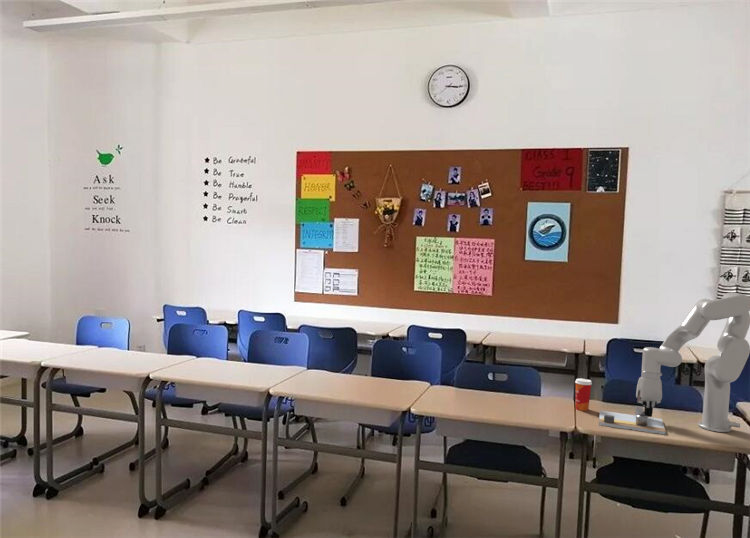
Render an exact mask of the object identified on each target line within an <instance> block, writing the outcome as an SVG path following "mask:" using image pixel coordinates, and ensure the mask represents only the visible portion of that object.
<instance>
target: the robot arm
mask: <svg viewBox="0 0 750 538" xmlns="http://www.w3.org/2000/svg"><path fill="white" fill-rule="evenodd" d="M725 319H726V323H725V325H724V328H723V330H722V331H721V335H720V336H719V338H718V341H717V344H716V345H717V346H716V347H717V350H718V351H719V352H720V353H721V355H714V356H710V357H709V358H707V360H706V361H705V364H704V378H705V379H704V394H703V395H704V396H703V405H702V406H703V410H702V420H700V421H698V422H697V425H698V427H699V428H702V429H704V430H707V431H711V432H718V433H730V432H732V427H734V428H739V429H740V428H741V423H740V422H736V421H730V420H729V409H730V407H729V406H730V395H731V383H733V382H735V381H737V379H738V378H739V377H740V375H741V373H742V371H743V370H744V368H745V365H746V363H747V361H748V359H749V356H750V343H749V341H748V340H746V336H747V334H748V331H749V329H750V297H749V296H748V295H746V294H744V293H743V294H742V293H739V292H732V291H731V292H727V293H725V294H724V295H722V297H721V298H720V299H719V298H718V299H713V300H712V299H710V298H709V299H707V298H702V299H699V300H698V301H697V302H696V303H695V304H694V306H692V308H691V310H690V311H689V312H688V314H687V315H686V316H685V318H684V319H683V321H682V322H681V323H680V325H679V326H677V327H676V328H675V329H674V330H673V331H672V332H671V333H670V334H669V335H668V336H667V337H665V340H664V341H663V343H662V344H661V345H660V347H659V348H658V347H653V346H652V347H651V346H650V347H649V346H648V347H644V348H643V349H642V356H641V358H642V359H641V376H640V377H638V380H637V385H636V391H635V392H636V393H635V398H637V401H636V402H637V403H638V404H641V405H642V407H644V408H643V410H644V413H645V415H647V416H648V417H650V418H653V413H654V409H653V408H655V406H656V405H657V404H660V403H662V398H663V385H662V384H663V383H662V380H661V376H663V373H662V372H661V367H662V366H666V367H671V368H674V367H678V366H679V365H681V364H682V361H683V357H682V355H681V353H680V350H681V349H682V347H683V346H684V345H686V344H687V343H688V342H690V341H692V340H695V339H697V338H699V336H700V335H701V334H702V332H703V331H704V330H705V328H706V327H707V326H708V324H709V323H710V321H719V320H720V321H721V320H725Z"/></svg>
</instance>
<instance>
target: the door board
mask: <svg viewBox="0 0 750 538" xmlns="http://www.w3.org/2000/svg"><path fill="white" fill-rule="evenodd" d="M598 417H599V419H598V425H599V426H604V427H610V428H616V429H617V428H618V429H623V430H630V429H632V431H636V430H638V431H639V432H643V431H644V433H651V434H657V433H658V435H664V436H666V428H665V425H664V422H663V419H662V418H657V417H648V422H647V425H646V426H643V425H638V424H636V415H635V414H629V413H628V414H627V413H622V412H621V413H619V412H614V411H613V412H612V411H607V410H599V416H598Z"/></svg>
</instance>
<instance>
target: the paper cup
mask: <svg viewBox="0 0 750 538" xmlns="http://www.w3.org/2000/svg"><path fill="white" fill-rule="evenodd" d="M574 383H575V409H576V410H577V411H580V412H587V411H589V406H590V401H591V400H590V398H591V391H592V385H593V383H592V380H591V379H586V378H576V379H575V381H574Z"/></svg>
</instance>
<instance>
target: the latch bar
mask: <svg viewBox="0 0 750 538" xmlns="http://www.w3.org/2000/svg"><path fill="white" fill-rule="evenodd" d="M643 407H644V406H638V405H635V408H634V409H635V410H634V415H636V424H638V425H643V426H646V425H647V422H648V416H647V415H645V413H644V408H643Z"/></svg>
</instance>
